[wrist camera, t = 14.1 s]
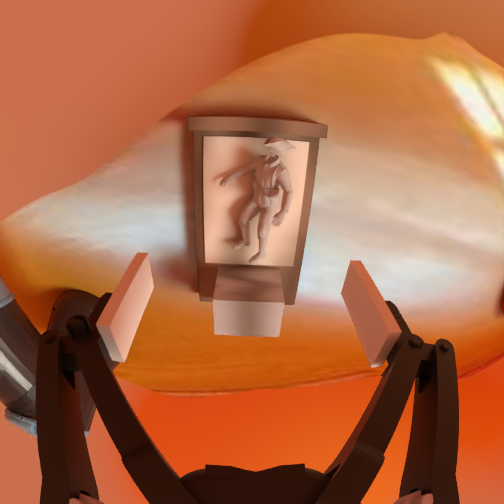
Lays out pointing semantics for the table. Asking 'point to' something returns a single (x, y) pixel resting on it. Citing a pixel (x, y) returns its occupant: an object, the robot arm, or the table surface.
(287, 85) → the table surface
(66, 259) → the table surface
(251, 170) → the soldier figure
